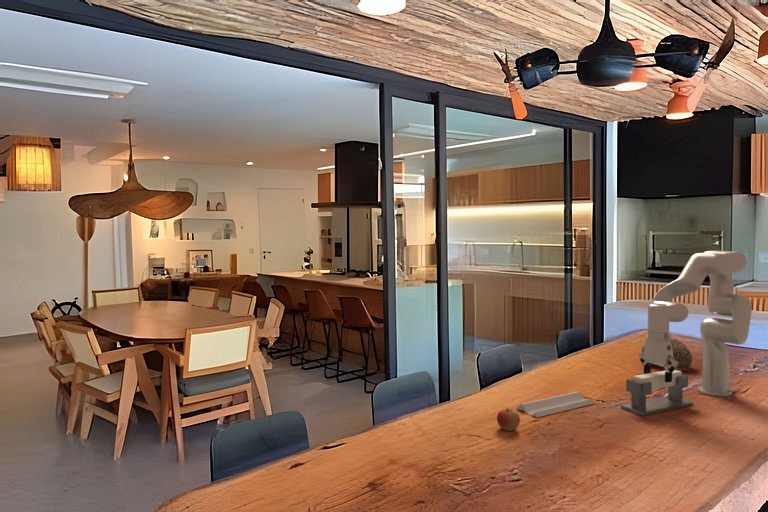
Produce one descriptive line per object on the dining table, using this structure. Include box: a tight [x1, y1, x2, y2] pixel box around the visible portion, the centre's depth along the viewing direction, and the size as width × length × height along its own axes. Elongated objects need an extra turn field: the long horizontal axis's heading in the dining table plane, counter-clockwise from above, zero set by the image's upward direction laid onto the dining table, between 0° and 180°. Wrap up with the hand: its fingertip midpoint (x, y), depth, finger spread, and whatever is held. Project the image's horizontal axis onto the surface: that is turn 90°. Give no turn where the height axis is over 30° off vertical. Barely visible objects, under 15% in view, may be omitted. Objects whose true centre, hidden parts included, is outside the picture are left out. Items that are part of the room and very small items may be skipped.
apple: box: [496, 407, 521, 432], centre depth 194 cm, size 8×8×8 cm
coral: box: [641, 336, 693, 371], centre depth 277 cm, size 23×18×15 cm
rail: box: [633, 369, 683, 390], centre depth 216 cm, size 22×4×5 cm, turn 114°
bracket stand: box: [620, 373, 694, 417], centre depth 216 cm, size 28×10×12 cm, turn 114°
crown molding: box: [515, 391, 596, 418], centre depth 218 cm, size 31×12×4 cm, turn 119°
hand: (657, 378), depth 216 cm, fingers open, 9 cm apart
